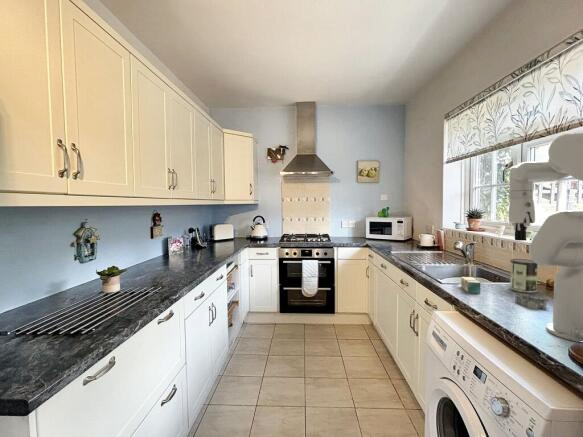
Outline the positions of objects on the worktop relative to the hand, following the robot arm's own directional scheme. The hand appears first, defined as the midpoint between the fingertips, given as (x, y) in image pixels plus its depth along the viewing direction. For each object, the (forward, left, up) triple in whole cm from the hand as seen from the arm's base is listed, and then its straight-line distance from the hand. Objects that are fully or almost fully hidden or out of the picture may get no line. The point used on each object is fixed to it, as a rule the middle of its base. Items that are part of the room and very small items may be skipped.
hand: (520, 240), depth 118 cm
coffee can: (+23, -12, -27) cm, 38 cm away
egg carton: (+1, -4, -27) cm, 28 cm away
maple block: (+13, +12, -24) cm, 30 cm away
